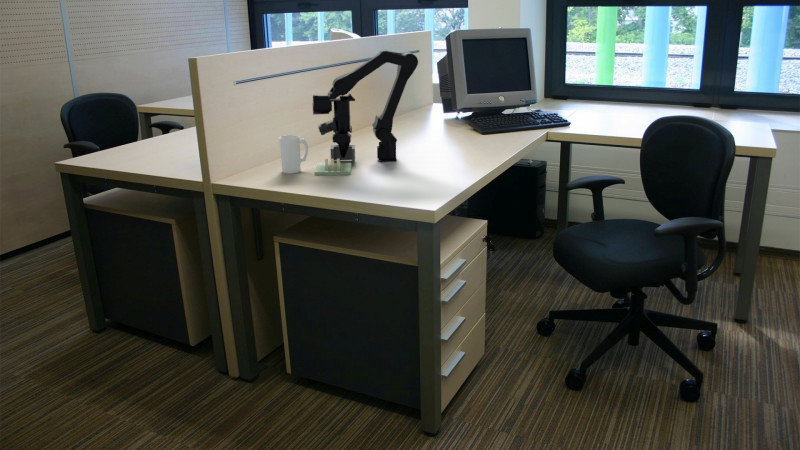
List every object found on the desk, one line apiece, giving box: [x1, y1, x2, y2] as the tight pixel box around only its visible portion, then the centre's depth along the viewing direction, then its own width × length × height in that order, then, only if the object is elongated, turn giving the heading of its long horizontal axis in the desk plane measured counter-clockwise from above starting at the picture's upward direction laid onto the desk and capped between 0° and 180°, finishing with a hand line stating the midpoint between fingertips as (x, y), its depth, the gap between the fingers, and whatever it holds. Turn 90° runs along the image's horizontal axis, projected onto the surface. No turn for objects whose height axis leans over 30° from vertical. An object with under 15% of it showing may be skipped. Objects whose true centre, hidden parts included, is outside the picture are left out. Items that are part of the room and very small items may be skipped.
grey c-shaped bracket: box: [330, 144, 356, 164], centre depth 237 cm, size 6×8×5 cm
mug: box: [279, 134, 309, 175], centre depth 226 cm, size 10×7×12 cm, turn 124°
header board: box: [314, 158, 352, 176], centre depth 228 cm, size 12×12×5 cm
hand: (343, 156), depth 240 cm, fingers closed on grey c-shaped bracket, 2 cm apart
